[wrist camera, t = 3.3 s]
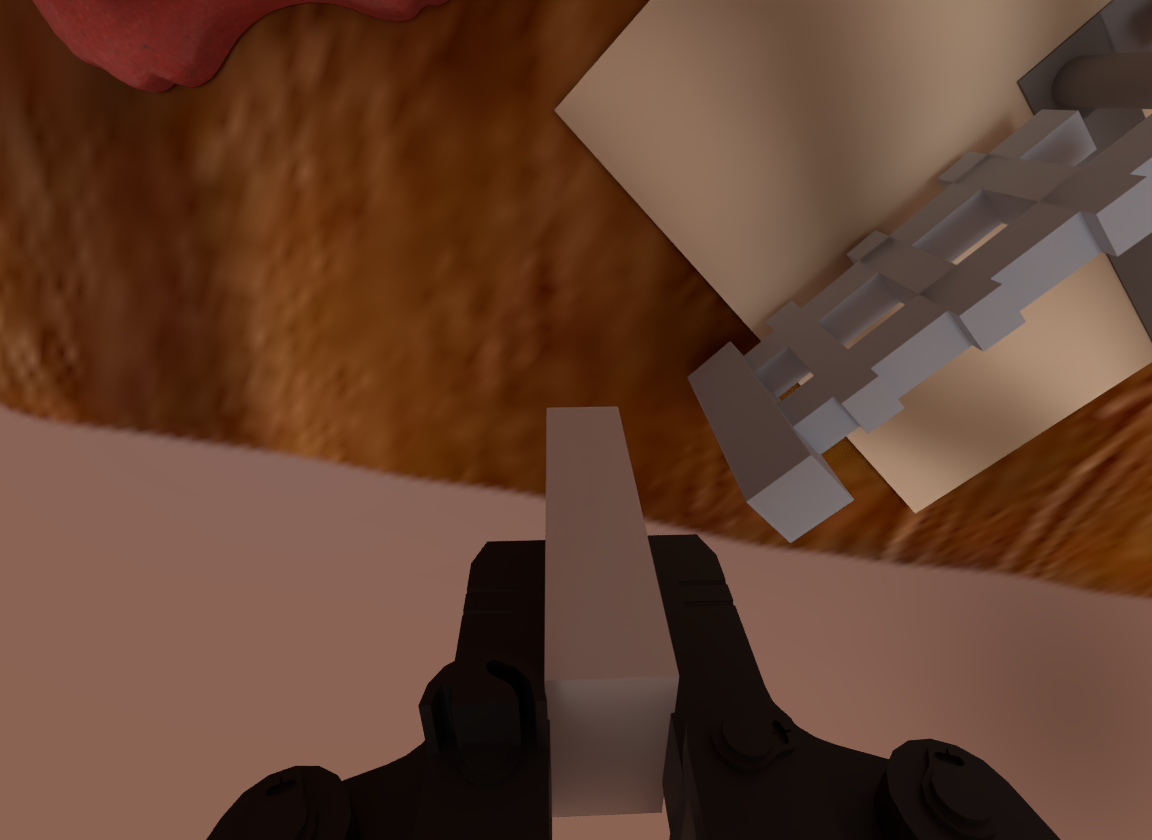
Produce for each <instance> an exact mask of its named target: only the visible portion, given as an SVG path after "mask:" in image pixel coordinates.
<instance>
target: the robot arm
mask: <svg viewBox="0 0 1152 840" xmlns="http://www.w3.org/2000/svg"><path fill="white" fill-rule="evenodd" d="M463 611H464V612H463V613H464V614H463V616H462V621H461V627H460V633H459V639H458V645H457V651H456V657H455V661H454V662H452V663H450V664H448V665H446V666H445V667H443V669H442V670H441V671H440V672H439V673H438V674H437V675H436V676H435V677H434V678H433V679H432V680H431V681H430V682H429V683H428V685H427V687H426V689H425V692H424V694H423V696H422V699H421V701H420V703H419V711H420V715H421V721H422V726H423V731H424V736H425V741H424V742H423V743H422V744H421V745H419V746H418V747H417V748H415V749H414V750H413V751H411V752H410V753H409V754H407V755H406V756H404V757H402V758H400V759H398V760H396V761H393V762H391V763H389V764H387V765H384V766H382V767H379V768H376V769H373V770H371V771H368V772H365V773H363V774H360V775H357V776H354V777H352V778H349V779H346V780H344V781H341V779H340V778H339V776H338V775H336V774H334V773H332V772H330V771H328V770H326V769H324V768H322V767H320V766H294V767H291V768H288V769H285V770H282V771H280V772H276V773H274V774H271V775H268V776H267V777H265V778H264V779H263V780H261V781H260V782H258V783H257V784H255V785H254V786H253V787H251V788H250V789H248V790H247V791H245V792H244V793H243V794H242V795H241V796H240V797H239V798H238V800H236V802H235V803H234V804H233V805H232V806H231V808H229V810H228V811H227V812H226V813H225V814H224V815H223V816H222V818H221V819H220V820H219V822H218V823H217V825H216V826H215V828H214V829H213V831H212V832H211V834H210V835H209V837H208V838H207V840H552V817H569V816H590V815H591V816H592V815H616V814H639V813H661V812H662V805H663V798H665V804H666V810H667V816H668V822H669V828H670V839H669V840H1060V839H1059V838H1058V836H1057V835H1056V834H1055V833H1054V832H1053V831H1052V830H1051V829H1050V828H1049V826H1047V824H1046V823H1045V822H1044V821H1043V820H1042V819H1041V818H1040V817H1039V816H1038V814H1037V813H1036V812H1035V811H1034V810H1033V809H1032V808H1031V807H1030V806H1029V805H1028V804H1027V802H1026V801H1025V800H1024V799H1023V798H1022V797H1021V796H1020V795H1019V794H1018V793H1017V792H1016V790H1015V789H1014V788H1013V787H1012V786H1011V785H1010V784H1009V783H1008V782H1007V781H1006V780H1005V779H1004V778H1003V777H1002V776H1000V775H999V774H998V773H997V772H995V770H994V769H992V768H991V767H990V766H989V765H988V764H987V763H986V762H984V761H983V760H981V759H980V758H978V757H976V756H974V755H972V754H970V753H969V752H967V751H965V750H963V749H962V748H960V747H958V746H956V745H952V744H948V743H944V742H941V741H937V740H933V739H921V740H909V741H907V742H905V743H904V744H902V745H901V746H899V747H898V748H896V749H895V750H893V752H892V754H891V756H890V759H886V758H882V757H879V756H875V755H871V754H868V753H864V752H860V751H857V750H853V749H849V748H846V747H842V746H839V745H835V744H832V743H830V742H827V741H824V740H821V739H819V738H816V737H814V736H813V735H811V734H809V733H808V732H806V731H804V730H803V729H801V728H799V727H798V726H797V725H796V724H794V722H793V721H792V719H791V718H790V717H789V716H788V715H787V714H786V713H784V712H783V711H782V710H781V709H780V708H779V707H778V706H777V705H776V704H775V703H774V702H773V701H772V699H771V697H770V695H769V693H768V691H767V689H766V687H765V685H764V682H763V679H762V677H761V674H760V671H759V669H758V666H757V663H756V661H755V658H754V655H753V652H752V650H751V647H750V645H749V642H748V639H747V636H746V634H745V631H744V628H743V625H742V623H741V620H740V617H739V615H738V612H737V609H736V607H735V606H734V605H733V598H732V596H731V593H730V590H729V588H728V585H727V584H726V582H725V577H724V574H723V572H722V569H721V566H720V564H719V561H718V558H717V555H716V554H715V553H714V552H713V551H712V550H711V549H710V548H709V547H708V546H707V545H706V544H705V543H704V542H703V541H702V540H701V539H700V538H699V536H698V535H697V534H693V535H653V536H647V532H646V528H645V524H644V519H643V515H642V510H641V506H640V502H639V497H638V493H637V488H636V484H635V480H634V475H633V471H632V466H631V462H630V458H629V453H628V449H627V444H626V440H625V436H624V431H623V427H622V422H621V418H620V414H619V409H618V406H616V407H557V408H547V418H546V540H532V541H495V542H494V541H493V542H487V543H486V544H485V546H484V547H483V548H482V550H481V551H480V552H479V554H478V555H477V556H476V558H475V559H474V560H473V562H472V563H471V568H470V574H469V580H468V587H467V594H466V598H465V604H464V609H463Z"/></svg>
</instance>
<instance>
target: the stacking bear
mask: <svg viewBox="0 0 1152 840" xmlns="http://www.w3.org/2000/svg"><path fill="white" fill-rule="evenodd" d="M32 1H33V2H34V4H35V5H36V7H37V8H38V10H39V11H40V13H41V14H42V16H43V17H44V18H45V20H46V21H47V23H48V24H49V25H50V27H51V28H52V30H53V31H54V32H55V34H56V35H57V36H58V37H59V38H60V39H61V40H62V41H63V42H64V43H65V44H66V45H67V47H68V48H69V49H70V50H71V52H72V53H74V54H75V55H76V56H77V57H78V58H79V59H81V60H82V61H84V62H85V63H88V64H90V65H93V66H95V67H98V68H101V69H104V70H106V71H107V72H109V73H110V74H111V75H113V76H114V77H116V78H117V79H118V80H120V81H122V82H124V83H126V84H128V85H130V86H131V87H134V88H136V89H140V90H144V91H148V92H162V91H165V90H168V89H170V88H171V87H172V86H174V85H175V84H179V85H182V86H185V87H197V86H200V85H202V84H203V83H205V82H207V81H208V80H210V79H211V78H212V76H213V75H214V74H215V73H216V72H217V71H218V69H219V67H220V66H221V64H222V62H223V61H224V59H225V57H226V56H227V54H228V52H229V51H230V49H231V48H232V46H233V45H234V43H235V42H236V40H237V39H238V38H239V36H240V35H241V34H242V33H243V32H244V31H245V30H246V29H247V28H248V27H249V26H250V25H252V24H253V23H254V22H256V21H257V20H258V19H260V18H261V17H262V16H264V15H266V14H268V13H270V12H272V11H274V10H277V9H280V8H284V7H287V6H291V5H296V4H302V3H314V2H318V3H330V4H335V5H340V6H344V7H347V8H350V9H353V10H356V11H359V12H362V13H364V14H366V15H369V16H371V17H375V18H378V19H383V20H388V21H394V22H402V21H407V20H411V19H412V18H414V17H415V16H416V15H417V14H418V13H419V11H420V10H421V9H422V8H423V7H425V6H429V5H432V6H441V5H443V4H444V3H446V2H447V1H448V0H32Z"/></svg>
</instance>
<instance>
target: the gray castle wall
mask: <svg viewBox="0 0 1152 840" xmlns="http://www.w3.org/2000/svg"><path fill="white" fill-rule="evenodd" d="M1095 150H1097V148H1096V146H1095V144H1094V142H1093V140H1092V138H1091V136H1090V134H1089V132H1088V130H1087V128H1086V126H1085V124H1084V122H1083V119H1082V117H1081V115H1080V113H1079V111H1074V110H1045V109H1042V110H1041V111H1039V112H1038V113H1037V114H1036V115H1035V116H1033V117H1032V118H1031V119H1030V120H1028V121H1027V122H1026V123H1025V124H1024V125H1022V126H1021V127H1020V128H1019V129H1018V130H1016V131H1015V132H1014V133H1013V134H1012V135H1010V136H1009V137H1008V138H1007V139H1005V140H1004V141H1003V142H1002V143H1001V144H999V145H998V146H997V147H996V148H995V149H993V150H992V151H991V152H990V153H989V154H983V153H976V152H968V153H967V154H966V155H964V156H963V157H962V158H961V159H960V160H958V161H957V162H956V163H955V164H954V165H952V166H951V167H950V168H949V169H948V170H947V171H945V172H944V173H943V174H942V175H941V176H939V177H938V178H937V180H938V182H939V183H940V185H941V186H942V188H943V190H944V191H943V192H941V193H940V194H939V195H938V196H937V197H935V198H934V199H933V200H932V201H930V202H929V203H928V204H927V205H926V206H924V207H923V208H922V209H921V210H920V211H918V212H917V213H916V214H915V215H914V216H912V217H911V218H910V219H909V220H908V221H906V222H905V223H904V224H903V225H901V226H900V227H899V228H898V229H897V230H895V231H894V232H893V233H892V234H891V235H889V236H888V235H886V234H883V233H881V232H879V231H876V230H875V231H874V232H872V233H871V234H870V235H869V236H868V237H867V238H865V239H864V240H863V241H862V242H861V243H859V244H858V245H857V246H856V247H855V248H853V249H852V250H851V251H850V252H849V253H847V256H848V257H849V258H850V260H851V261H852V262H853V264H854V265H853V266H852V267H851V268H849V269H848V270H847V271H846V272H845V273H843V274H842V275H841V276H840V277H839V278H837V279H836V280H835V281H834V282H833V283H831V284H830V285H829V286H828V287H826V288H825V289H824V290H823V291H822V292H820V293H819V294H818V295H817V296H816V297H814V298H813V299H812V300H811V301H810V302H808V303H807V304H806V305H805V306H803V307H802V308H800V307H799V306H798V305H796V304H795V303H794V302H793V301H792V300H791V301H790V302H789V303H788V304H787V305H785V306H784V307H783V308H782V309H781V310H779V311H778V312H777V313H776V314H775V315H773V316H772V317H771V318H770V319H769V320H767V321H766V323H767V324H768V325H769V326H770V328H771V329H772V330H773V332H772V333H771V334H770V335H768V336H767V337H766V338H765V339H764V340H762V341H761V342H760V343H759V344H758V345H756V346H755V347H754V348H753V349H751V350H750V351H749V352H748V353H747V354H745V355H744V356H743V355H742V353H741V352H740V351H739V350H738V349H737V348H736V347H735V346H734V345H733V344H732V343H731V342H728V343H727V344H726V345H725V346H724V347H722V348H721V349H720V350H719V351H718V352H717V353H715V354H714V355H713V356H712V357H711V358H709V359H708V360H707V361H706V362H705V363H704V364H702V365H701V366H700V367H699V368H698V369H696V370H695V371H694V372H693V373H692V374H690V375H689V376H688V377H687V378H688V380H689V382H690V384H691V386H692V388H693V391H694V393H695V395H696V397H697V399H698V401H699V403H700V405H701V408H702V410H703V412H704V414H705V416H706V418H707V420H708V422H709V424H710V427H711V429H712V431H713V433H714V435H715V437H716V439H717V441H718V443H719V446H720V448H721V450H722V452H723V454H724V456H725V458H726V460H727V463H728V465H729V467H730V469H731V471H732V473H733V475H734V477H735V479H736V482H737V484H738V486H739V488H740V490H741V492H742V494H743V496H744V498H745V501H746V502H747V503H748V504H749V505H750V506H751V507H752V508H753V509H754V510H755V511H756V512H757V513H759V514H760V515H761V516H762V517H763V518H764V519H765V520H766V521H767V522H768V523H769V524H770V525H771V526H773V527H774V528H775V529H776V530H777V531H778V532H779V533H780V534H781V535H782V536H783V537H784V538H786V539H787V540H788V541H789V542H790V543H791V542H793V541H794V540H796V539H797V538H798V537H800V536H801V535H803V534H804V533H806V532H807V531H809V530H810V529H812V528H813V527H815V526H816V525H818V524H819V523H821V522H822V521H824V520H825V519H827V518H828V517H830V516H831V515H833V514H834V513H836V512H837V511H838V510H840V509H841V508H843V507H844V506H846V505H847V504H849V503H850V502H852V501H853V500H854V499H853V498H852V496H851V495H850V494H849V492H848V491H847V489H846V488H845V487H844V485H843V484H842V483H841V481H840V480H839V479H838V477H837V476H836V475H835V473H834V472H833V471H832V469H831V468H830V467H829V465H828V464H827V462H826V461H825V460H824V458H823V457H822V456H821V454H822V453H824V452H825V451H826V450H828V449H829V448H830V447H832V446H833V445H835V444H836V443H837V442H839V441H840V440H842V439H843V438H844V437H846V436H847V435H849V434H850V433H851V432H853V431H854V430H855V429H857V428H858V427H860V426H861V427H862V428H863V429H864V430H865V431H866V432H867V434H869V433H870V432H872V431H873V430H875V429H876V428H877V427H879V426H880V425H882V424H883V423H884V422H886V421H887V420H889V419H890V418H891V417H893V416H894V415H896V414H897V413H898V412H900V411H901V410H903V409H904V406H903V405H902V404H901V403H900V401H899V400H898V399H899V398H900V397H901V396H903V395H904V394H905V393H907V392H908V391H910V390H911V389H912V388H914V387H915V386H917V385H918V384H919V383H921V382H922V381H924V380H925V379H926V378H928V377H929V376H930V375H932V374H933V373H935V372H936V371H937V370H939V369H940V368H942V367H943V366H944V365H946V364H947V363H949V362H950V361H951V360H953V359H954V358H955V357H957V356H958V355H960V354H961V353H962V352H964V351H965V350H967V349H968V348H969V347H971V346H972V345H973V346H975V347H976V348H978V349H980V350H981V351H983V352H984V351H986V350H987V349H988V348H990V347H991V346H993V345H994V344H995V343H997V342H998V341H1000V340H1001V339H1002V338H1004V337H1005V336H1007V335H1008V334H1010V333H1011V332H1012V331H1014V330H1015V329H1017V328H1018V327H1019V326H1021V325H1022V324H1024V323H1025V322H1026V321H1025V319H1024V318H1023V316H1022V314H1021V313H1020V311H1021V310H1022V309H1024V308H1025V307H1026V306H1028V305H1029V304H1030V303H1032V302H1033V301H1035V300H1036V299H1037V298H1039V297H1040V296H1042V295H1043V294H1044V293H1046V292H1047V291H1049V290H1050V289H1051V288H1053V287H1054V286H1055V285H1057V284H1058V283H1060V282H1061V281H1062V280H1064V279H1065V278H1067V277H1068V276H1069V275H1071V274H1072V273H1074V272H1075V271H1076V270H1078V269H1079V268H1080V267H1082V266H1083V265H1085V264H1086V263H1087V262H1089V261H1090V260H1092V259H1093V258H1094V257H1096V256H1097V255H1099V254H1100V253H1101V252H1104V253H1107V254H1110V255H1114V256H1117V257H1118V256H1119V255H1121V254H1122V253H1123V252H1125V251H1126V250H1128V249H1129V248H1130V247H1132V246H1133V245H1135V244H1136V243H1137V242H1139V241H1140V240H1142V239H1143V238H1145V237H1146V236H1147V235H1149V234H1150V233H1152V114H1151V115H1149V116H1148V117H1147V118H1146V119H1144V120H1143V121H1142V122H1140V123H1139V124H1138V125H1137V126H1135V127H1134V128H1133V129H1131V130H1130V131H1129V132H1127V133H1126V134H1125V135H1124V136H1122V137H1121V138H1120V139H1118V140H1117V141H1116V142H1115V143H1113V144H1112V145H1111V146H1109V147H1108V148H1107V149H1106V150H1104V151H1103V152H1102V153H1100V154H1099V155H1098V156H1097V157H1095V158H1094V159H1093V160H1091V161H1090V162H1089V163H1087V164H1086V165H1085V166H1084V167H1075V166H1076V165H1077V164H1079V163H1080V162H1081V161H1082V160H1084V159H1085V158H1086V157H1088V156H1089V155H1090V154H1091V153H1093V152H1094V151H1095ZM1002 223H1003V224H1007V225H1008V226H1006V227H1005V228H1004V229H1002V230H1001V231H1000V232H999V233H997V234H996V235H995V236H993V237H992V238H991V239H989V240H988V241H987V242H986V243H984V244H983V245H982V246H980V247H979V248H978V249H977V250H975V251H974V252H973V253H971V254H970V255H969V256H968V257H966V258H965V259H964V260H962V261H961V262H960V263H959V264H957V265H956V264H954V263H952V262H953V261H954V260H955V259H957V258H958V257H959V256H960V255H962V254H963V253H964V252H966V251H967V250H968V249H969V248H971V247H972V246H973V245H975V244H976V243H977V242H978V241H980V240H981V239H982V238H984V237H985V236H986V235H987V234H989V233H990V232H991V231H993V230H994V229H995V228H996V227H998V226H999V225H1000V224H1002ZM900 302H901V303H903V304H905V305H904V306H903V307H902V308H900V309H899V310H898V311H897V312H895V313H894V314H893V315H891V316H890V317H889V318H888V319H886V320H885V321H884V322H882V323H881V324H880V325H879V326H877V327H876V328H875V329H873V330H872V331H871V332H870V333H868V334H867V335H866V336H864V337H863V338H862V339H860V340H859V341H858V342H857V343H855V344H854V345H853V346H851V347H850V348H849V349H847V348H846V347H845V345H846V344H848V343H849V342H850V341H851V340H853V339H854V338H855V337H857V336H858V335H859V334H860V333H862V332H863V331H864V330H866V329H867V328H868V327H869V326H871V325H872V324H873V323H874V322H876V321H877V320H878V319H880V318H881V317H882V316H883V315H885V314H886V313H887V312H889V311H890V310H891V309H892V308H894V307H895V306H896V305H898V304H899V303H900ZM810 372H811V373H812V374H813V375H814V376H813V377H811V378H810V379H809V380H808V381H806V382H805V383H804V384H802V385H801V386H800V387H799V388H797V389H796V390H795V391H793V392H792V393H791V394H790V395H788V396H787V397H786V398H784V399H783V400H782V401H781V400H780V399H779V398H778V397H780V396H781V395H782V394H783V393H785V392H786V391H787V390H789V389H790V388H791V387H792V386H794V385H795V384H796V383H797V382H799V381H800V380H801V379H803V378H804V377H805V376H806V375H808V374H809V373H810Z"/></svg>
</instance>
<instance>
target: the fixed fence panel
mask: <svg viewBox="0 0 1152 840" xmlns="http://www.w3.org/2000/svg"><path fill="white" fill-rule="evenodd" d="M1051 92H1052V98H1053V100H1054V102H1055V103H1056V104H1057V105H1059V106H1062V107H1082V108H1119V109H1152V51H1148V52H1133V53H1119V54H1105V55H1090V56H1080V57H1076V58H1074V59H1072V60H1070V61H1069V62H1067V63H1066V64H1065V65H1064V66H1063V67H1062V68H1061V69H1060V70H1059V72H1058V73H1057V75H1056V77H1055V79H1054V81H1053V84H1052V91H1051Z"/></svg>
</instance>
